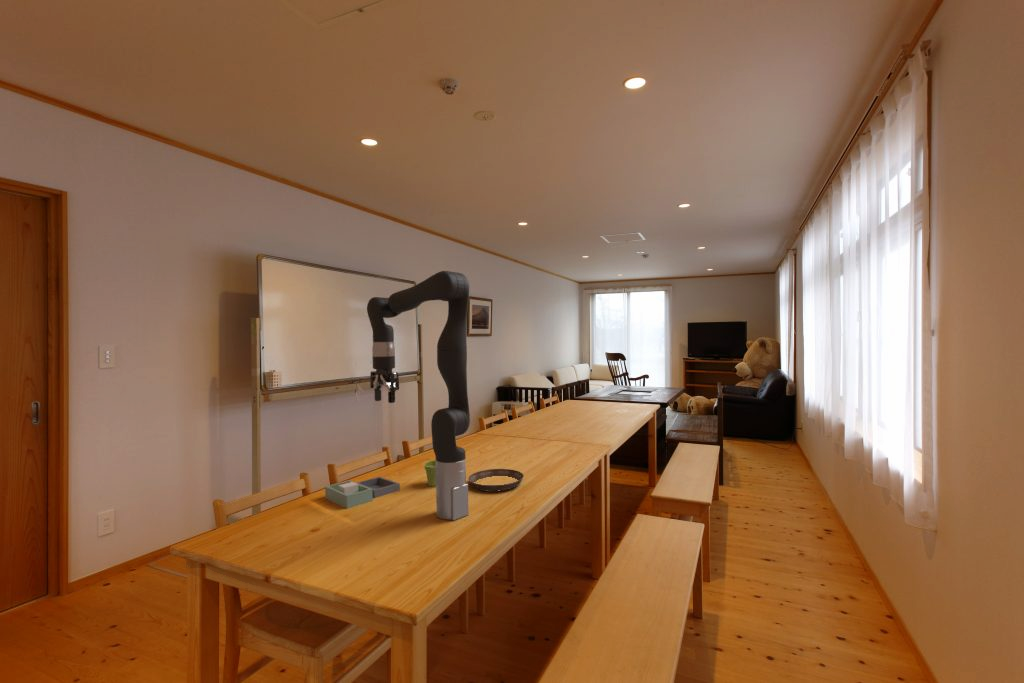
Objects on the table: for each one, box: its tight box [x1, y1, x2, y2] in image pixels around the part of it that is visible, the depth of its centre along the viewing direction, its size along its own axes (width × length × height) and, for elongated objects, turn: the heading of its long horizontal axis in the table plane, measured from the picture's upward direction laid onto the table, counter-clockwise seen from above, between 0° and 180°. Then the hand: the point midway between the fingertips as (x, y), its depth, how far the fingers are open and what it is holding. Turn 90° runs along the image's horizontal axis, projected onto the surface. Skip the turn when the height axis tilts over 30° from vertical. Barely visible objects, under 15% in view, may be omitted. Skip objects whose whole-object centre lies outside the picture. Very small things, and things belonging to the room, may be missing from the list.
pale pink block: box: [339, 481, 358, 495], centre depth 158 cm, size 4×5×5 cm
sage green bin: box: [324, 479, 374, 509], centre depth 158 cm, size 15×9×5 cm, turn 48°
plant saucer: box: [467, 468, 525, 492], centre depth 175 cm, size 21×21×3 cm
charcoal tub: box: [356, 476, 401, 499], centre depth 167 cm, size 13×10×4 cm
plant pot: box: [422, 459, 436, 488], centre depth 173 cm, size 9×9×9 cm
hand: (384, 401), depth 163 cm, fingers open, 8 cm apart
